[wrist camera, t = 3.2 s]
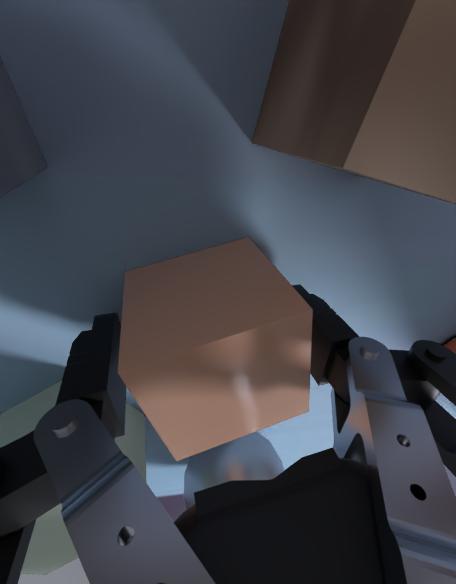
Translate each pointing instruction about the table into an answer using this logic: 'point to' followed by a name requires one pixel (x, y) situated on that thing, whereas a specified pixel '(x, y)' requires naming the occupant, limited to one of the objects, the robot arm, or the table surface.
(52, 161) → the table surface
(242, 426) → the terracotta cube
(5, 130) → the charcoal cube
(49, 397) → the sage cube
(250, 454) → the plastic bottle
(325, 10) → the walnut cube
